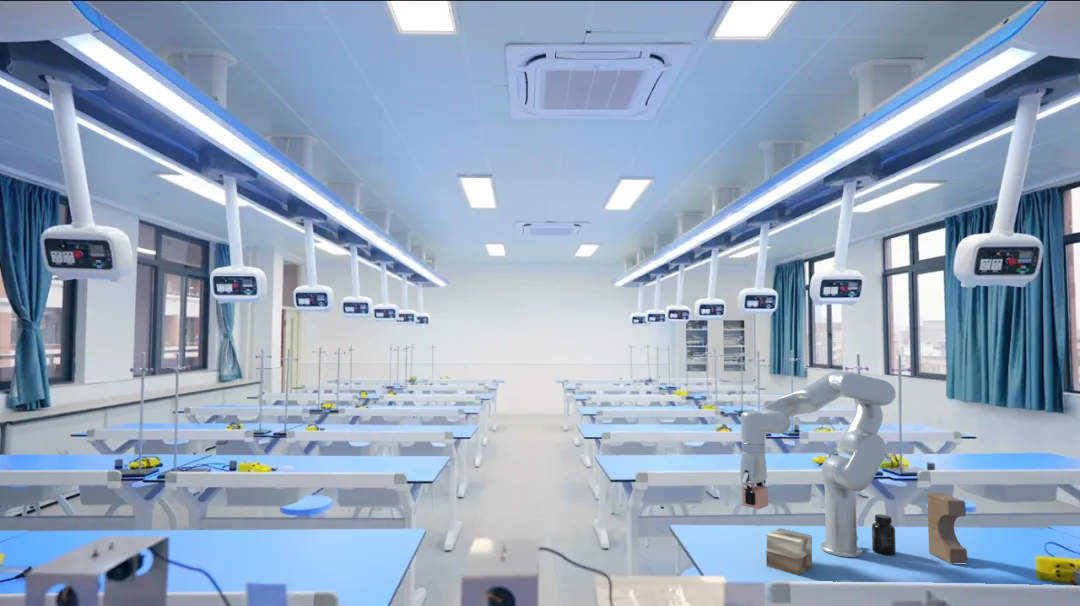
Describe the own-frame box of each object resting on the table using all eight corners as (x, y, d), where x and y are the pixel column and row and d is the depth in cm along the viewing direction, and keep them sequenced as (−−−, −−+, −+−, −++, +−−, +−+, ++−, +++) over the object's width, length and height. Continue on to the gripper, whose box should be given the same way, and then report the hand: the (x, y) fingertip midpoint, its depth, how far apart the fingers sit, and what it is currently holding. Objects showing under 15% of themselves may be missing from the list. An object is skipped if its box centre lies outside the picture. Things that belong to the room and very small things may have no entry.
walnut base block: (780, 559, 194) (780, 543, 194) (812, 568, 187) (811, 551, 187) (766, 567, 187) (766, 550, 188) (798, 576, 180) (798, 559, 180)
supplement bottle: (870, 547, 206) (870, 512, 207) (893, 550, 204) (892, 514, 205) (874, 554, 200) (873, 517, 201) (897, 557, 197) (896, 520, 198)
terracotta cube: (751, 502, 205) (750, 484, 206) (768, 505, 201) (767, 487, 201) (742, 505, 201) (742, 487, 202) (759, 509, 197) (758, 490, 197)
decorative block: (968, 565, 191) (966, 501, 193) (950, 564, 191) (948, 501, 193) (945, 552, 202) (943, 492, 204) (928, 552, 202) (926, 492, 204)
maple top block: (780, 543, 194) (780, 528, 195) (812, 551, 187) (811, 535, 188) (766, 551, 187) (766, 534, 188) (799, 559, 180) (799, 542, 180)
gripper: (755, 443, 211) (757, 495, 210) (730, 450, 199) (731, 505, 198) (776, 446, 205) (777, 499, 204) (751, 453, 194) (753, 509, 192)
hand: (755, 501), depth 201 cm, fingers closed on terracotta cube, 6 cm apart
